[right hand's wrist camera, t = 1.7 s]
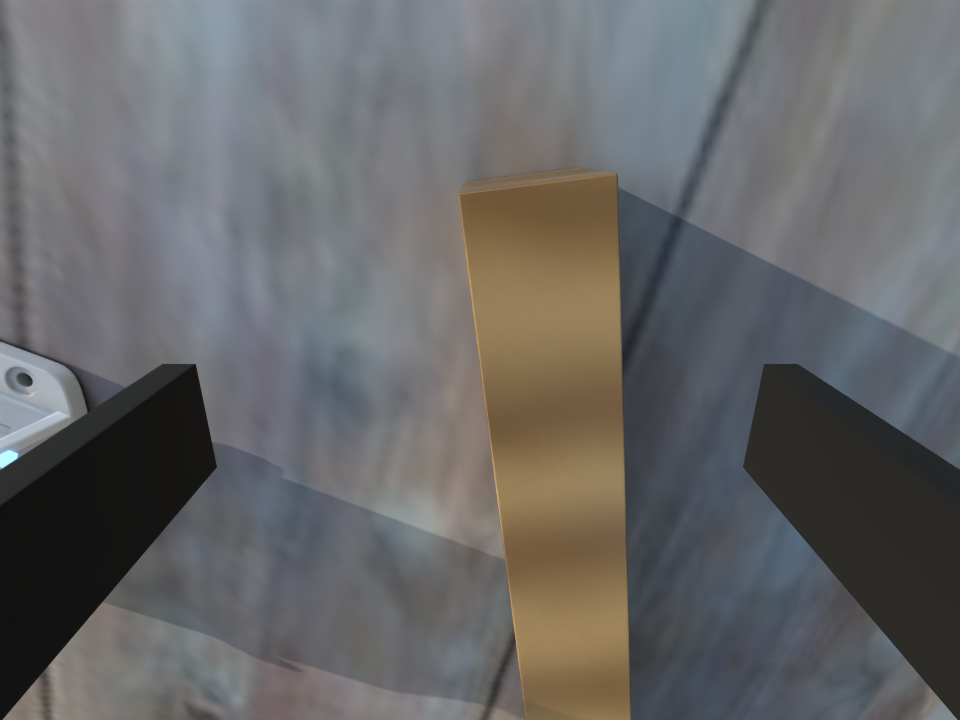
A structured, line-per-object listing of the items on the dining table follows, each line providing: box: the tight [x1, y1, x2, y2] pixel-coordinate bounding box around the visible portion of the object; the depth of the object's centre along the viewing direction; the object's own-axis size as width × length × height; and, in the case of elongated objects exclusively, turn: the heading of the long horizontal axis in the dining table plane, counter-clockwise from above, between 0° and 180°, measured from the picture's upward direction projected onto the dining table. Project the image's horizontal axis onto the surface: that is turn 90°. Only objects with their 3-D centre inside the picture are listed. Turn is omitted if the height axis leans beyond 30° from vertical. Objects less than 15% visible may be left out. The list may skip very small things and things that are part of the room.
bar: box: [458, 167, 631, 720], centre depth 31 cm, size 51×6×8 cm, turn 7°
